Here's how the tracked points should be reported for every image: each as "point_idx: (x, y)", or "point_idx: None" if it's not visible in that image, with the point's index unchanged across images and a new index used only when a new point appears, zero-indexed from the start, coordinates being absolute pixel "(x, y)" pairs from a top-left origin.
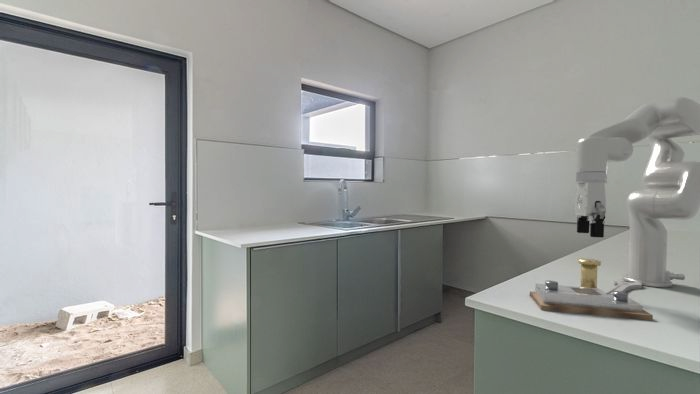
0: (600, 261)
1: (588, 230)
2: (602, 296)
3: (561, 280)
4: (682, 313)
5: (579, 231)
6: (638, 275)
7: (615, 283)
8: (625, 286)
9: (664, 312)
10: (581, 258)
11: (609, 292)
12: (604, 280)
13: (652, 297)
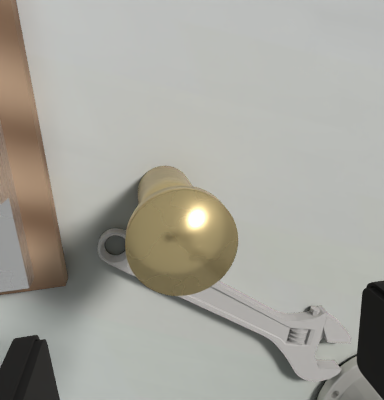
0: (168, 293)
1: (372, 382)
2: None
3: (330, 133)
4: None
5: (370, 301)
6: (364, 396)
7: (311, 310)
8: (261, 328)
9: None
10: (228, 216)
11: None
12: None
13: (187, 368)
